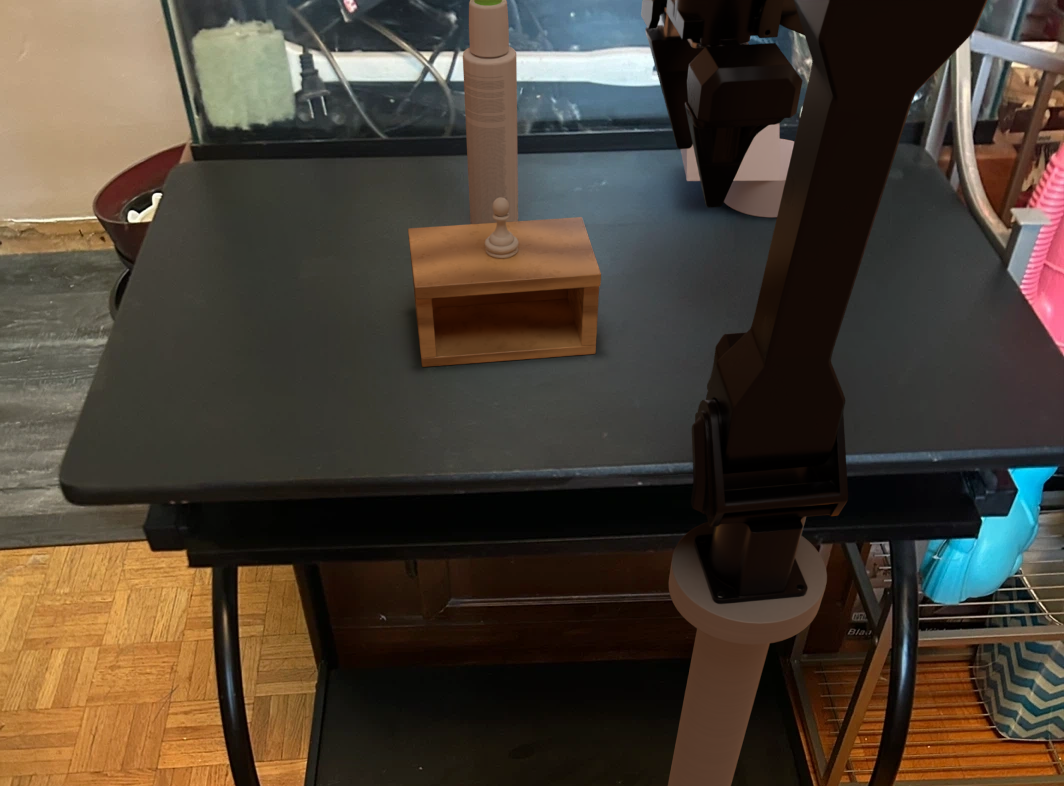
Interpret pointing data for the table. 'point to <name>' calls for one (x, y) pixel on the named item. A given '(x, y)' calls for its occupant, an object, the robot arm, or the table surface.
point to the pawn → (501, 233)
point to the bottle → (490, 111)
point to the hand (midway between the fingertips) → (698, 176)
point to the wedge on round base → (754, 174)
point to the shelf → (504, 292)
